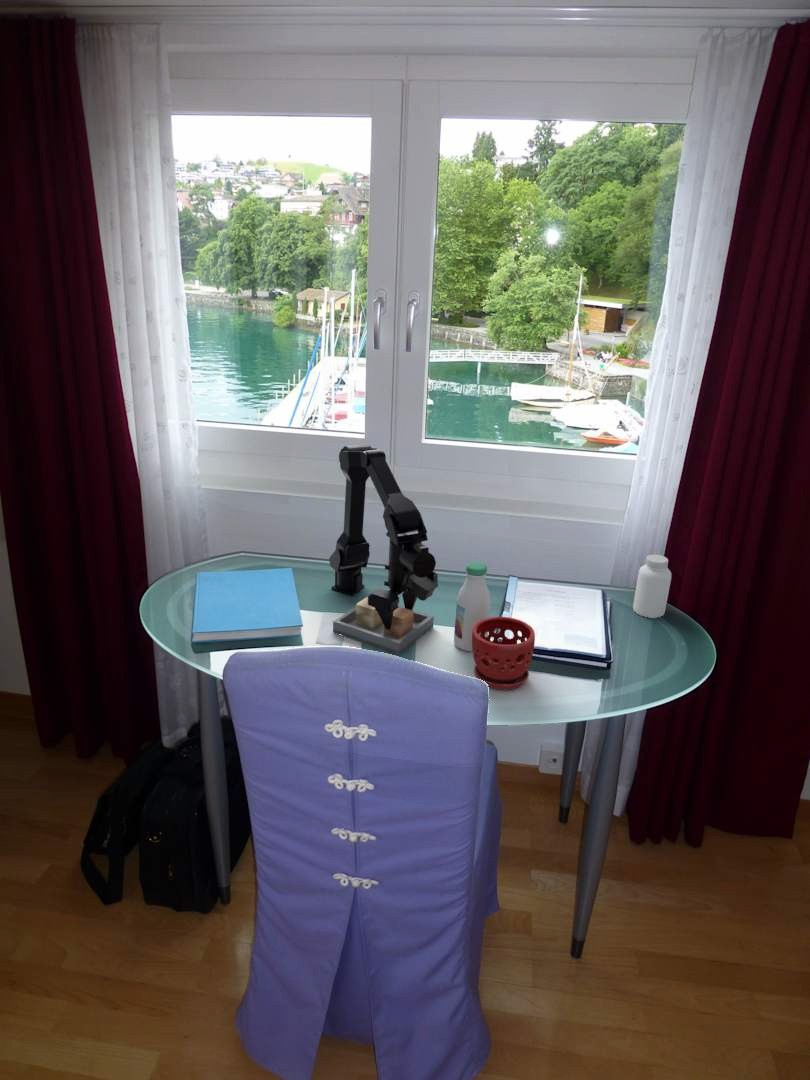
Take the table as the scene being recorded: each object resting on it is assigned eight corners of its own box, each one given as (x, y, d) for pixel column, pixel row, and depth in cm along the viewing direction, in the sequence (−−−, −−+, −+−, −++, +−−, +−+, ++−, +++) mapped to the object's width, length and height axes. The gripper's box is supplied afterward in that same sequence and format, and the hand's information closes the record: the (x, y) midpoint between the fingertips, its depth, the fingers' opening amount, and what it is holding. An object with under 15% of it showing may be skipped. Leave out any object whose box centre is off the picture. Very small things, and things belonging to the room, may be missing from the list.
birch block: (355, 622, 194) (355, 604, 192) (367, 615, 198) (367, 596, 196) (372, 628, 192) (373, 609, 190) (384, 620, 196) (385, 602, 194)
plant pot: (491, 657, 184) (495, 609, 179) (541, 678, 176) (547, 629, 172) (456, 679, 174) (460, 629, 170) (507, 702, 167) (513, 651, 162)
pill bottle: (630, 615, 207) (639, 560, 201) (634, 602, 214) (643, 549, 208) (662, 621, 204) (672, 567, 198) (666, 608, 211) (675, 555, 205)
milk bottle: (490, 640, 191) (497, 562, 184) (482, 655, 184) (489, 574, 177) (458, 633, 193) (464, 556, 186) (449, 648, 187) (455, 568, 179)
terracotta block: (383, 632, 190) (384, 613, 188) (394, 624, 194) (395, 605, 192) (401, 638, 188) (402, 619, 186) (412, 630, 192) (413, 611, 190)
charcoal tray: (332, 632, 191) (333, 621, 190) (370, 607, 204) (370, 597, 203) (398, 655, 183) (398, 643, 182) (433, 627, 196) (433, 616, 194)
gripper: (410, 583, 173) (407, 647, 179) (452, 555, 188) (447, 616, 194) (367, 570, 178) (365, 633, 184) (410, 544, 193) (407, 603, 199)
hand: (398, 621), depth 190 cm, fingers open, 9 cm apart
